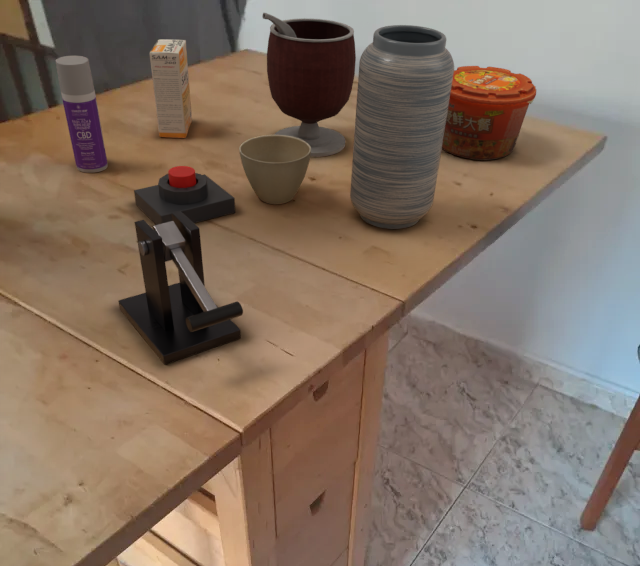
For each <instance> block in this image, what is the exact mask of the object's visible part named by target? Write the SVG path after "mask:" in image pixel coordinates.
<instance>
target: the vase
mask: <svg viewBox="0 0 640 566" xmlns="http://www.w3.org/2000/svg"><path fill="white" fill-rule="evenodd" d="M372 38H373V39H372V42H371V43H369V44H368V45H367V46H366V47H365V48H364V50H363V51H362V54H361V55H360V59H359V65H358V78H357V91H356V92H357V93H356V106H355V121H354V134H353V135H354V136H353V147H352V149H353V150H352V163H351V176H350V177H351V178H350V191H349V198H350V201H351V204H352V206H353V207H354V209H355V210H356V212H358V214H359V217H360V219H362V220H363V221H364V222H365V223H366V224H368V225H370V226H373V227H376V228H380V229H385V230H403V229H407V228H411V227H413V226H414V225H416V224H417V223H418V222H419V221H420V220H421V219H422V218H424V216H426V214H428V212H429V211H430V210H431V208H432V207H433V204H434V200H435V193H436V187H437V180H438V175H439V169H440V162H441V157H442V156H441V155H442V150H443V149H442V144H443V137H444V131H445V125H446V118H447V112H448V106H449V99H450V93H451V87H452V80H453V74H454V70H455V63H454V58H453V56H452V54H451V53H450V52H451V51H449V49H448V48H447V47H446V45H447V36H446V34H445V33H443V32H441V31H439V30H437V29H435V28H430V27H426V26H420V25H413V24H412V25H410V24H392V25H385V26H382V27H379V28H377V29H376V30H375V31H374V32H373V36H372Z"/></svg>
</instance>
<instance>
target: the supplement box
mask: <svg viewBox="0 0 640 566" xmlns="http://www.w3.org/2000/svg"><path fill="white" fill-rule="evenodd" d="M149 61H150V68H151V69H150V70H151V76H152V86H153V93H154V94H153V95H154V103H155V110H156V111H155V112H156V116H157V117H156V119H157V128H158V129H157V130H158V136H159V137H160V138H173V139H175V138H176V139H186V138H187V136H188V132H189V129H190V126H191V125H192V122H193V115H192V113H193V112H192V103H191V102H192V101H191V91H190V89H191V88H190V77H189V75H190V74H189V65H188V63H189V62H188V53H187V40H186V39H166V38H165V39H161V38H160V39H157V40H156V42H155V44H154V45H153V47H152V48H151V50H150V51H149Z"/></svg>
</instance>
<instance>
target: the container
mask: <svg viewBox="0 0 640 566" xmlns="http://www.w3.org/2000/svg"><path fill="white" fill-rule="evenodd" d="M55 66H56V71H57V77H58V83H59V89H60V94H61V100H62V104H63V109H64V115H65V119H66V124H67V128H68V133H69V138H70V142H71V148H72V152H73V158H74V162H75V166H76V169H77V171H79V172H82V173H86V174H89V173H90V174H92V173H99V172H102V171H104V170H106V169H107V168H108V166H109V163H108V158H107V152H106V147H105V141H104V135H103V130H102V124H101V119H100V111H99V106H98V101H97V95H96V90H95V86H94V79H93V75H92V71H91V65H90V59H89V58H88V57H87V56H86V57H85V56H82V55H66V56H65V55H64V56H59V57H57V58H56V59H55Z"/></svg>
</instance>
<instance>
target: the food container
mask: <svg viewBox="0 0 640 566" xmlns="http://www.w3.org/2000/svg"><path fill="white" fill-rule="evenodd" d="M536 87H537V86H535V84H534V83H533V80H532V78H530V77H528V76H527V75H525V74H522V73H514V72H512V71H511V70H510V69H506V68H502V67H495V66H487V67H480V66H479V65H463V66H458V67H457V69H456V70H455V69H454V74H453V80H452V87H451V93H450V99H449V106H448V112H447V118H446V125H445V131H444V137H443V144H442V150H443V151H445V152H447V153H448V154H451V155H454V156H457V157H461V158H464V159H470V160H479V161H480V160H481V161H483V160H484V161H487V160H488V161H489V160H497V159H501V158H505V157H507V156H508V155H511V153H512V152H513V151H514V149H515V146H516V143H517V141H518V137H519V134H520V131H521V129H522V126H523V124H524V120H525V117H526V114H527V111H528V108H529V106H530V105H531V104H533V102H534V100H535V99H536V95H537V88H536Z"/></svg>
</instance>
